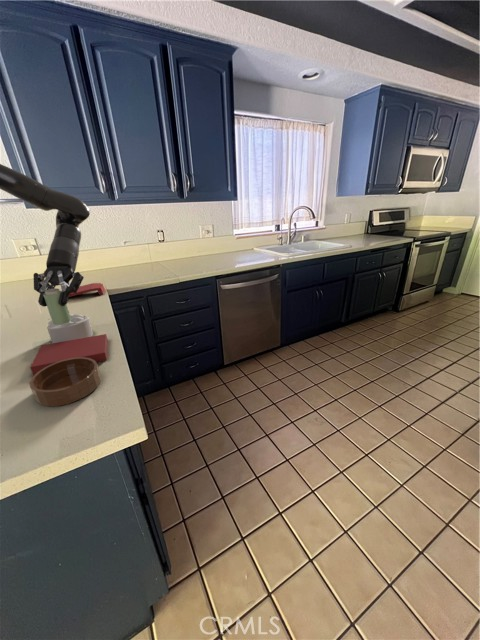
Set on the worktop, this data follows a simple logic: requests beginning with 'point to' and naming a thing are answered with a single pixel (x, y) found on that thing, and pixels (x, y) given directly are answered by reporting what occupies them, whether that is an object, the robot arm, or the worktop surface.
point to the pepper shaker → (56, 307)
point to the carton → (89, 289)
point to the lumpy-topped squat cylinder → (70, 329)
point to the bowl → (65, 381)
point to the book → (71, 351)
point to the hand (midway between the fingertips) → (52, 305)
